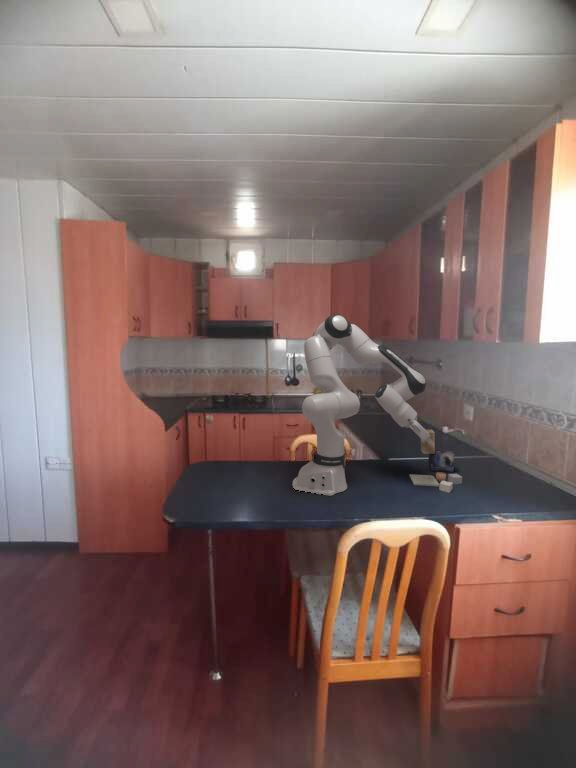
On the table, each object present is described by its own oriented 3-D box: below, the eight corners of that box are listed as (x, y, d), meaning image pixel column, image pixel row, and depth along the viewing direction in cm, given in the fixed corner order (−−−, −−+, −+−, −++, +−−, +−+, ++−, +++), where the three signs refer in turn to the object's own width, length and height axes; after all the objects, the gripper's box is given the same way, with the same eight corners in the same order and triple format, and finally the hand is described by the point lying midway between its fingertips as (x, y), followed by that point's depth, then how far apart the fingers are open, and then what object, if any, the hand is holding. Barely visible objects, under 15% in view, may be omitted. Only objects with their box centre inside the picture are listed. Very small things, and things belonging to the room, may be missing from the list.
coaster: (414, 485, 152) (414, 483, 152) (409, 476, 162) (409, 474, 162) (439, 486, 151) (439, 484, 151) (432, 477, 161) (432, 475, 161)
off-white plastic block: (439, 490, 148) (439, 483, 147) (442, 487, 151) (442, 480, 150) (449, 493, 145) (450, 485, 145) (452, 489, 148) (452, 482, 148)
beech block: (423, 453, 152) (423, 432, 151) (420, 450, 157) (420, 429, 155) (434, 453, 152) (434, 432, 150) (431, 449, 156) (431, 429, 155)
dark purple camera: (429, 471, 168) (430, 449, 167) (427, 466, 175) (428, 445, 173) (454, 473, 166) (455, 451, 164) (451, 468, 172) (452, 446, 171)
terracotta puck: (437, 482, 156) (437, 475, 156) (434, 478, 160) (434, 471, 160) (446, 482, 156) (447, 475, 155) (444, 478, 160) (444, 472, 159)
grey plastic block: (453, 484, 154) (453, 477, 154) (447, 480, 158) (448, 474, 157) (461, 483, 154) (462, 477, 154) (456, 480, 158) (456, 473, 158)
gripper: (418, 417, 142) (442, 442, 143) (406, 407, 162) (427, 429, 163) (406, 428, 143) (430, 453, 144) (395, 416, 163) (416, 438, 164)
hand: (428, 440), depth 153 cm, fingers closed on beech block, 5 cm apart
